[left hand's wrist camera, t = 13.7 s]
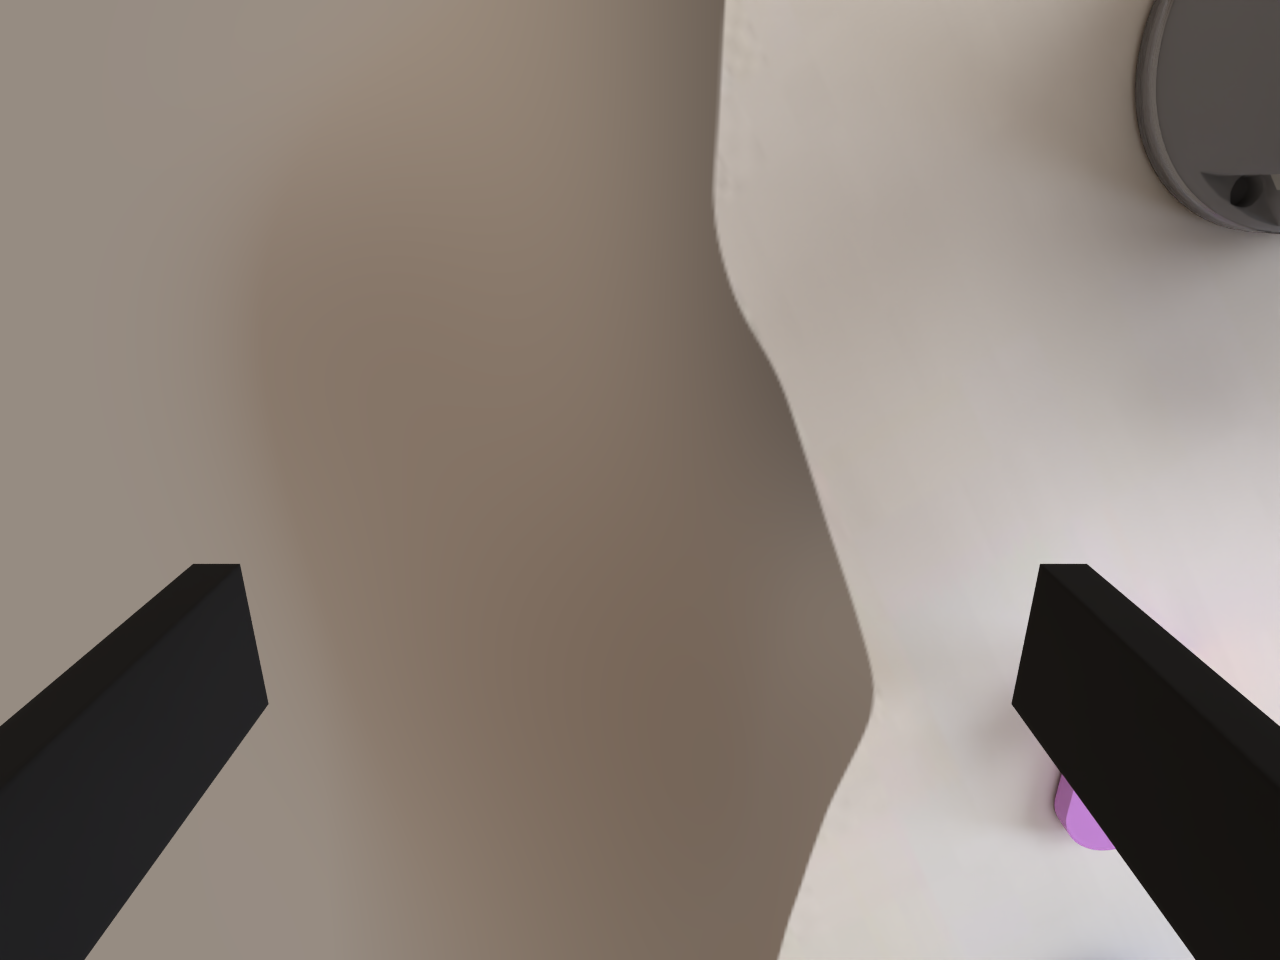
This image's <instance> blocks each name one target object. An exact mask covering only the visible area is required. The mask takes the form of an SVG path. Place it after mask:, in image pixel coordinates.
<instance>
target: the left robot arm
mask: <svg viewBox="0 0 1280 960" xmlns="http://www.w3.org/2000/svg"><path fill="white" fill-rule="evenodd" d="M1136 110H1137V120H1138V125H1139V130H1140V135H1141V138H1142V142H1143V145H1144V148H1145V151H1146V154H1147V156H1148V158H1149V160H1150V162H1151V165H1152V167H1153V169H1154V170H1155V172H1156V174H1157V175H1158V177H1159V179H1160V180H1161V181H1162V183H1163V184H1164V185H1165V187H1166V188H1167V189H1168V190H1169V192H1170V193H1171V194H1172V195H1173V196H1174V197H1175V198H1176V199H1177V200H1178V201H1179V202H1180V203H1182V204H1183V205H1184V206H1185V207H1187V208H1188V209H1189V210H1191V211H1192V212H1194V213H1195V214H1197V215H1199V216H1201V217H1202V218H1204V219H1206V220H1208V221H1211V222H1213V223H1215V224H1218V225H1221V226H1224V227H1228V228H1231V229H1236V230H1242V231H1248V232H1262V233H1277V234H1280V0H1155V2H1154V4H1153V6H1152V9H1151V12H1150V15H1149V18H1148V21H1147V23H1146V26H1145V30H1144V34H1143V38H1142V42H1141V46H1140V51H1139V57H1138V63H1137V73H1136ZM267 705H268V699H267V694H266V689H265V685H264V680H263V675H262V670H261V665H260V660H259V655H258V650H257V646H256V641H255V636H254V631H253V626H252V621H251V616H250V611H249V606H248V602H247V597H246V592H245V587H244V582H243V577H242V572H241V567H240V564H193V565H191V566H190V567H189V568H188V569H187V570H185V571H184V572H183V573H182V574H181V575H180V576H178V577H177V578H176V579H175V580H174V581H172V582H171V583H170V584H169V585H168V586H166V587H165V588H164V589H163V590H162V591H161V592H159V593H158V594H157V595H156V596H155V597H153V598H152V599H151V600H150V601H149V602H147V603H146V604H145V605H144V606H143V607H142V608H140V609H139V610H138V611H137V612H136V613H134V614H133V615H132V616H131V617H130V618H128V619H127V620H126V621H125V622H124V623H122V624H121V625H120V626H119V627H118V628H117V629H115V630H114V631H113V632H112V633H111V634H109V635H108V636H107V637H106V638H105V639H103V640H102V641H101V642H100V643H99V644H98V645H96V646H95V647H94V648H93V649H92V650H90V651H89V652H88V653H87V654H86V655H84V656H83V657H82V658H81V659H80V660H79V661H77V662H76V663H75V664H74V665H73V666H71V667H70V668H69V669H68V670H67V671H65V672H64V673H63V674H62V675H61V676H59V677H58V678H57V679H56V680H55V681H54V682H52V683H51V684H50V685H49V686H48V687H46V688H45V689H44V690H43V691H42V692H40V693H39V694H38V695H37V696H36V697H35V698H33V699H32V700H31V701H30V702H29V703H27V704H26V705H25V706H24V707H23V708H21V709H20V710H19V711H18V712H17V713H16V714H14V715H13V716H12V717H11V718H10V719H8V720H7V721H6V722H5V723H4V724H3V725H1V726H0V960H85V958H86V957H87V955H88V954H89V953H90V951H91V950H92V948H93V947H94V946H95V944H96V943H97V941H98V940H99V939H100V937H101V936H102V935H103V933H104V932H105V930H106V929H107V928H108V926H109V925H110V923H111V922H112V921H113V919H114V918H115V916H116V915H117V914H118V912H119V911H120V910H121V908H122V907H123V905H124V904H125V903H126V901H127V900H128V898H129V897H130V896H131V894H132V893H133V891H134V890H135V889H136V887H137V886H138V884H139V883H140V882H141V880H142V879H143V878H144V876H145V875H146V873H147V872H148V871H149V869H150V868H151V866H152V865H153V864H154V862H155V861H156V859H157V858H158V857H159V855H160V854H161V853H162V851H163V850H164V848H165V847H166V846H167V844H168V843H169V841H170V840H171V839H172V837H173V836H174V834H175V833H176V832H177V830H178V829H179V827H180V826H181V825H182V823H183V822H184V821H185V819H186V818H187V816H188V815H189V814H190V812H191V811H192V809H193V808H194V807H195V805H196V804H197V803H198V801H199V800H200V798H201V797H202V796H203V794H204V793H205V791H206V790H207V789H208V787H209V786H210V785H211V783H212V782H213V780H214V779H215V778H216V776H217V775H218V773H219V772H220V771H221V769H222V768H223V766H224V765H225V764H226V762H227V761H228V760H229V758H230V757H231V755H232V754H233V753H234V751H235V750H236V748H237V747H238V746H239V744H240V743H241V741H242V740H243V739H244V737H245V736H246V734H247V733H248V732H249V730H250V729H251V728H252V726H253V725H254V723H255V722H256V721H257V719H258V718H259V716H260V715H261V714H262V712H263V711H264V709H265V708H266V707H267ZM1012 705H1013V707H1014V708H1015V709H1016V711H1017V712H1018V714H1019V715H1020V716H1021V718H1022V719H1023V721H1024V722H1025V723H1026V725H1027V726H1028V728H1029V729H1030V730H1031V732H1032V733H1033V734H1034V736H1035V737H1036V739H1037V740H1038V741H1039V743H1040V744H1041V746H1042V747H1043V748H1044V750H1045V751H1046V753H1047V754H1048V755H1049V757H1050V758H1051V760H1052V761H1053V762H1054V764H1055V765H1056V766H1057V768H1058V769H1059V771H1060V772H1061V773H1062V775H1063V776H1064V778H1065V779H1066V780H1067V782H1068V783H1069V785H1070V786H1071V787H1072V789H1073V790H1074V791H1075V793H1076V794H1077V796H1078V797H1079V798H1080V800H1081V801H1082V803H1083V804H1084V805H1085V807H1086V808H1087V810H1088V811H1089V812H1090V814H1091V815H1092V816H1093V818H1094V819H1095V821H1096V822H1097V823H1098V825H1099V826H1100V828H1101V829H1102V830H1103V832H1104V833H1105V835H1106V836H1107V837H1108V839H1109V840H1110V841H1111V843H1112V844H1113V846H1114V847H1115V848H1116V850H1117V851H1118V853H1119V854H1120V855H1121V857H1122V858H1123V860H1124V861H1125V862H1126V864H1127V865H1128V866H1129V868H1130V869H1131V871H1132V872H1133V873H1134V875H1135V876H1136V878H1137V879H1138V880H1139V882H1140V883H1141V885H1142V886H1143V887H1144V889H1145V890H1146V891H1147V893H1148V894H1149V896H1150V897H1151V898H1152V900H1153V901H1154V903H1155V904H1156V905H1157V907H1158V908H1159V910H1160V911H1161V912H1162V914H1163V915H1164V916H1165V918H1166V919H1167V921H1168V922H1169V923H1170V925H1171V926H1172V928H1173V929H1174V930H1175V932H1176V933H1177V935H1178V936H1179V937H1180V939H1181V940H1182V941H1183V943H1184V944H1185V946H1186V947H1187V948H1188V950H1189V951H1190V953H1191V954H1192V955H1193V957H1194V958H1195V960H1280V726H1279V725H1278V724H1276V723H1275V722H1274V721H1273V720H1272V719H1270V718H1269V717H1268V716H1267V715H1266V714H1264V713H1263V712H1262V711H1261V710H1260V709H1259V708H1257V707H1256V706H1255V705H1254V704H1253V703H1251V702H1250V701H1249V700H1248V699H1247V698H1245V697H1244V696H1243V695H1242V694H1241V693H1240V692H1238V691H1237V690H1236V689H1235V688H1234V687H1232V686H1231V685H1230V684H1229V683H1228V682H1226V681H1225V680H1224V679H1223V678H1222V677H1221V676H1219V675H1218V674H1217V673H1216V672H1215V671H1213V670H1212V669H1211V668H1210V667H1209V666H1207V665H1206V664H1205V663H1204V662H1203V661H1201V660H1200V659H1199V658H1198V657H1197V656H1196V655H1194V654H1193V653H1192V652H1191V651H1190V650H1188V649H1187V648H1186V647H1185V646H1184V645H1182V644H1181V643H1180V642H1179V641H1178V640H1177V639H1175V638H1174V637H1173V636H1172V635H1171V634H1169V633H1168V632H1167V631H1166V630H1165V629H1163V628H1162V627H1161V626H1160V625H1159V624H1158V623H1156V622H1155V621H1154V620H1153V619H1152V618H1150V617H1149V616H1148V615H1147V614H1146V613H1144V612H1143V611H1142V610H1141V609H1140V608H1139V607H1137V606H1136V605H1135V604H1134V603H1133V602H1131V601H1130V600H1129V599H1128V598H1127V597H1125V596H1124V595H1123V594H1122V593H1121V592H1120V591H1118V590H1117V589H1116V588H1115V587H1114V586H1112V585H1111V584H1110V583H1109V582H1108V581H1106V580H1105V579H1104V578H1103V577H1102V576H1101V575H1099V574H1098V573H1097V572H1096V571H1095V570H1093V569H1092V568H1091V567H1090V566H1089V565H1087V564H1040V567H1039V572H1038V577H1037V582H1036V587H1035V592H1034V596H1033V601H1032V606H1031V611H1030V616H1029V621H1028V626H1027V631H1026V636H1025V641H1024V645H1023V650H1022V655H1021V660H1020V665H1019V670H1018V675H1017V680H1016V685H1015V689H1014V694H1013V699H1012Z"/></svg>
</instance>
